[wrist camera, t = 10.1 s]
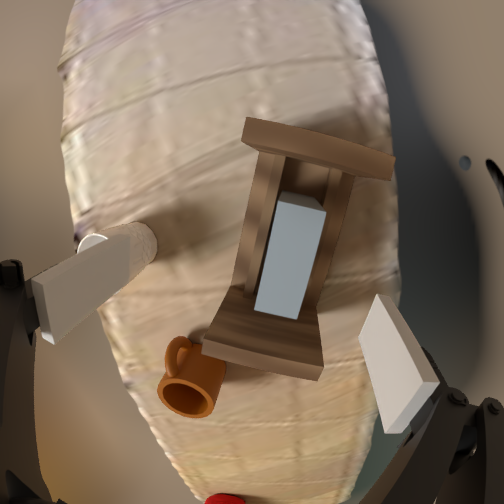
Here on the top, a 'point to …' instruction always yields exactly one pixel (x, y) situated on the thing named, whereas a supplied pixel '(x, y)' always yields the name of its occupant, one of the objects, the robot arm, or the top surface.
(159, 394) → the mug
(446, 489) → the robot arm
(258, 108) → the top surface
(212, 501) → the tomato
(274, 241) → the gray rectangular block
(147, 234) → the white cup
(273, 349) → the wooden frame
